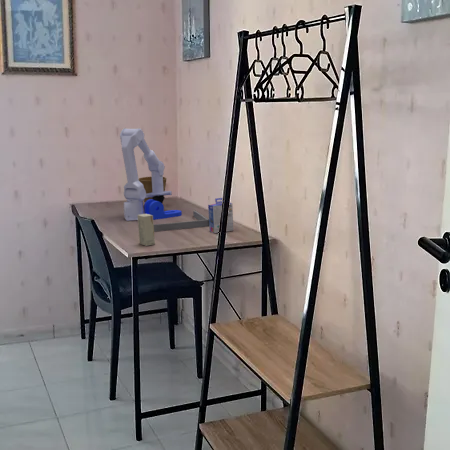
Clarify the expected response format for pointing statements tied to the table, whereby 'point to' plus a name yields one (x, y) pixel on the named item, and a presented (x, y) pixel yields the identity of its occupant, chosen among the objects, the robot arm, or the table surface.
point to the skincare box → (146, 229)
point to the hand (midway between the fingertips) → (159, 210)
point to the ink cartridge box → (216, 214)
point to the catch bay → (184, 223)
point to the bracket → (159, 210)
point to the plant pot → (150, 185)
